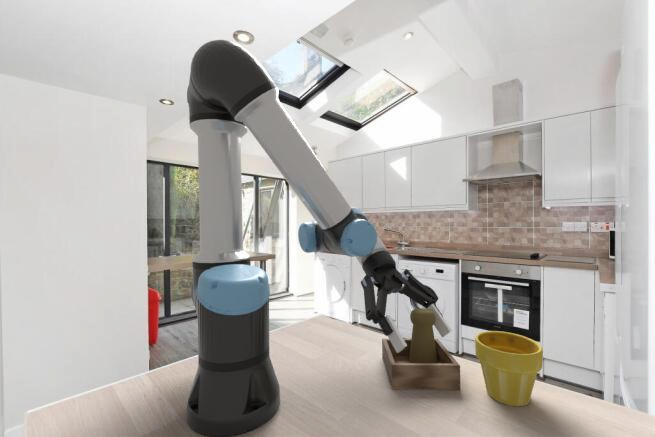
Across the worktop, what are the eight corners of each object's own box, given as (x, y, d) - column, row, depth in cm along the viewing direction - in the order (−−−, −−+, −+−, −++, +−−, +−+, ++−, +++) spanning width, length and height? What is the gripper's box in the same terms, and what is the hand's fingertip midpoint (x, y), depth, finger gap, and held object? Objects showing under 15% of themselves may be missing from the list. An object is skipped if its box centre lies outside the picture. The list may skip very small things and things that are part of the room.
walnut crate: (392, 389, 56) (391, 364, 56) (382, 358, 69) (382, 338, 69) (460, 389, 56) (460, 365, 56) (438, 358, 68) (437, 338, 69)
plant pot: (542, 423, 47) (541, 359, 47) (470, 399, 53) (469, 343, 53) (544, 392, 55) (543, 338, 55) (481, 375, 61) (481, 326, 61)
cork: (411, 354, 69) (410, 305, 70) (440, 359, 66) (438, 308, 67) (406, 363, 63) (405, 310, 65) (436, 369, 61) (435, 313, 62)
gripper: (402, 264, 82) (452, 336, 70) (325, 273, 69) (370, 366, 56) (418, 245, 78) (474, 319, 65) (338, 252, 64) (390, 347, 52)
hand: (426, 341), depth 61 cm, fingers open, 13 cm apart
